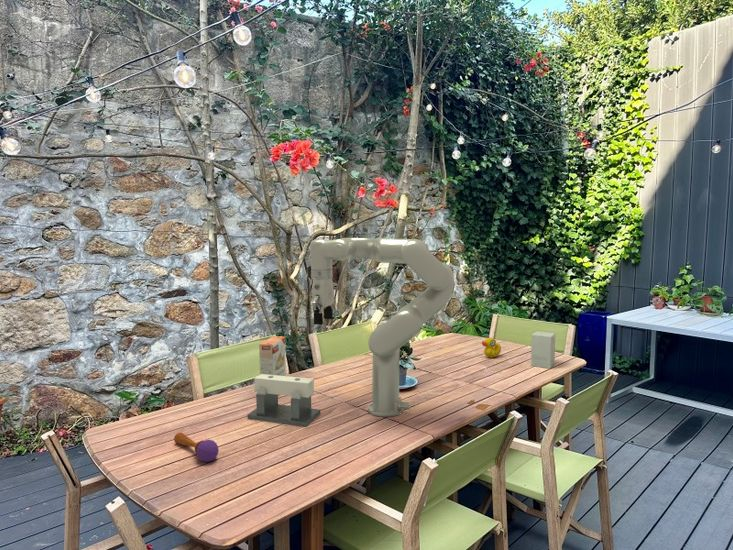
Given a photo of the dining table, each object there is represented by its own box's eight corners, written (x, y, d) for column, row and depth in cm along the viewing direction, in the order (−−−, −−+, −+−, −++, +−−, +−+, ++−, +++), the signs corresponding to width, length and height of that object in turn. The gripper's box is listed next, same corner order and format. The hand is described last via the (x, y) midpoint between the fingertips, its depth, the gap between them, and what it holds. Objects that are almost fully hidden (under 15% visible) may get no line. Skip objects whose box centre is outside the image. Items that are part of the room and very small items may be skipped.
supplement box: (554, 364, 245) (556, 333, 243) (550, 368, 237) (551, 336, 235) (535, 361, 250) (536, 330, 248) (530, 365, 242) (531, 334, 240)
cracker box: (274, 397, 199) (273, 344, 197) (259, 396, 201) (258, 343, 198) (286, 386, 213) (286, 336, 211) (273, 385, 214) (272, 335, 212)
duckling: (485, 360, 251) (486, 340, 250) (478, 357, 256) (478, 337, 255) (503, 357, 257) (504, 337, 255) (495, 354, 261) (496, 335, 260)
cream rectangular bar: (313, 392, 180) (313, 378, 179) (308, 397, 175) (308, 382, 175) (261, 387, 185) (261, 373, 185) (254, 392, 180) (254, 377, 180)
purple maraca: (189, 427, 162) (223, 441, 149) (187, 446, 162) (221, 462, 148) (170, 429, 158) (204, 443, 144) (168, 449, 158) (202, 465, 144)
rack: (320, 413, 183) (320, 384, 182) (306, 426, 172) (305, 396, 171) (264, 406, 190) (264, 378, 189) (247, 418, 179) (246, 389, 178)
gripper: (322, 277, 176) (324, 327, 177) (339, 271, 192) (341, 317, 194) (302, 276, 178) (304, 326, 180) (321, 271, 194) (322, 316, 196)
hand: (323, 321), depth 187 cm, fingers open, 9 cm apart
